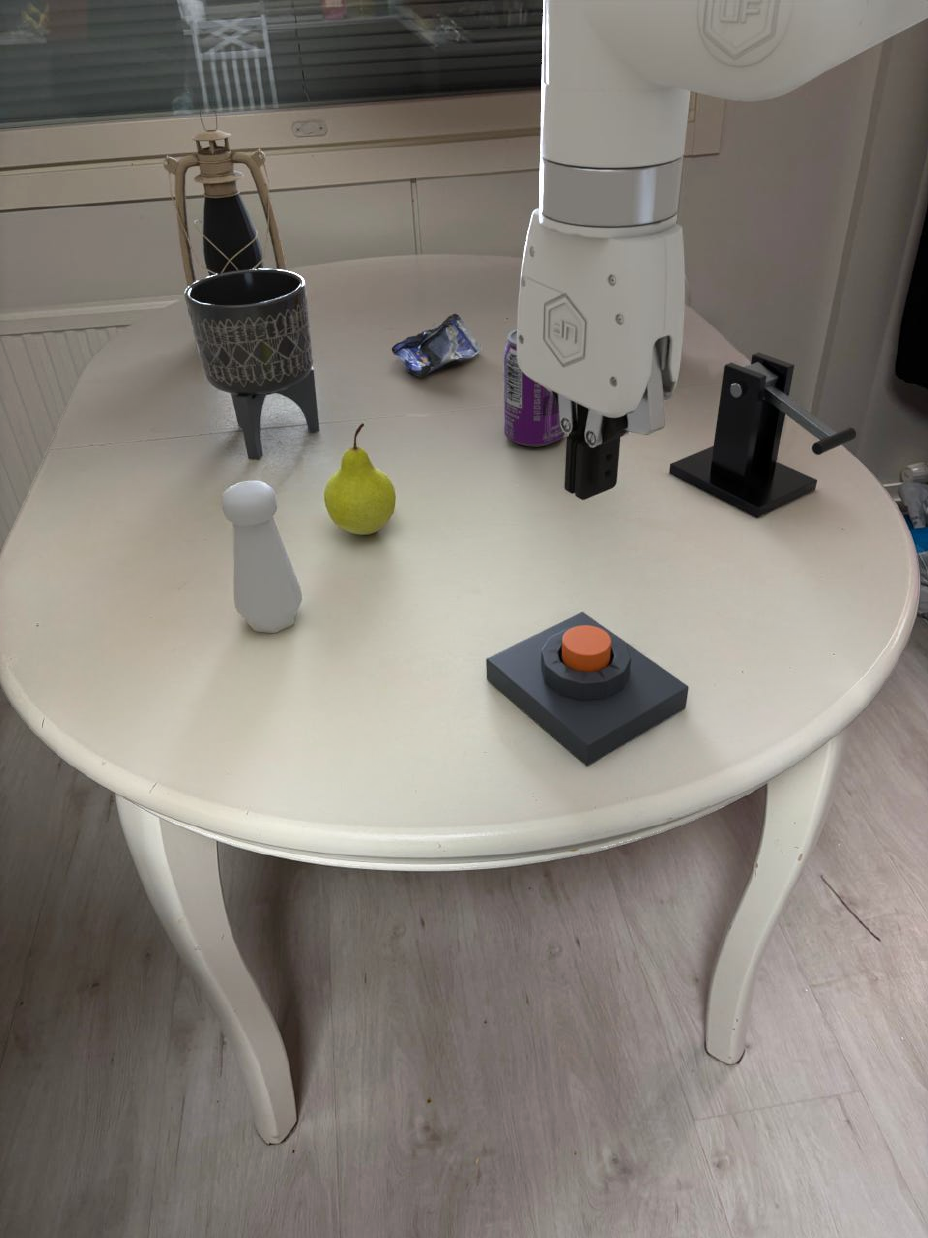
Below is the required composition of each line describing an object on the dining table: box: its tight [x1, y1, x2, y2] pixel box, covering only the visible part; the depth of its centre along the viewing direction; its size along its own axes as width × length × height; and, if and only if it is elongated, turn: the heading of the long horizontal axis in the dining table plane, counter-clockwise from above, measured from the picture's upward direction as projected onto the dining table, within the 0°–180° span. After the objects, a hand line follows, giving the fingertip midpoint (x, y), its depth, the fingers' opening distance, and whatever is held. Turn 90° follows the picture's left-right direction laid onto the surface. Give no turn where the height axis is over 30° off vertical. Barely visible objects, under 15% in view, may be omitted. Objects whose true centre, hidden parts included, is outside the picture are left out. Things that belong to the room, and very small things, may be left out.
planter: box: [183, 268, 320, 461], centre depth 105 cm, size 13×13×18 cm
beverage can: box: [502, 328, 566, 448], centre depth 104 cm, size 7×7×12 cm
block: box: [485, 611, 690, 767], centre depth 71 cm, size 12×10×4 cm
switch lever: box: [744, 362, 857, 456], centre depth 88 cm, size 12×5×2 cm, turn 35°
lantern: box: [162, 106, 288, 288], centre depth 130 cm, size 14×12×30 cm
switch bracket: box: [668, 352, 818, 519], centre depth 93 cm, size 12×9×13 cm
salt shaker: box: [221, 480, 303, 634], centre depth 77 cm, size 6×6×13 cm
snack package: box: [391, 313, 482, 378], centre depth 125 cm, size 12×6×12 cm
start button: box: [562, 625, 611, 673], centre depth 69 cm, size 4×4×2 cm
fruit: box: [323, 422, 397, 536], centre depth 89 cm, size 7×7×12 cm
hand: (590, 488), depth 61 cm, fingers closed
